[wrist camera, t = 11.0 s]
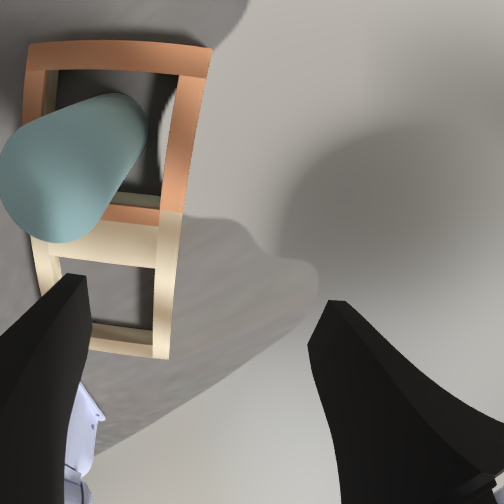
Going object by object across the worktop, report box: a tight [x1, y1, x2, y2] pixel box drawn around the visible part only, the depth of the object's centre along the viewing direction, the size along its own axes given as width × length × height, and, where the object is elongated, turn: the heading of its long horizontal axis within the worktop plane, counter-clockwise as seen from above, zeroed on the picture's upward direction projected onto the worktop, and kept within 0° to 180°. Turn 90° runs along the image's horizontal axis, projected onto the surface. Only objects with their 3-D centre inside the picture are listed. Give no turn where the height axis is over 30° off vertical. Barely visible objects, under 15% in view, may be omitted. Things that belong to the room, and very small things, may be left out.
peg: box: [0, 93, 149, 243], centre depth 12 cm, size 4×4×8 cm
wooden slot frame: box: [22, 40, 213, 360], centre depth 17 cm, size 21×10×2 cm, turn 167°
